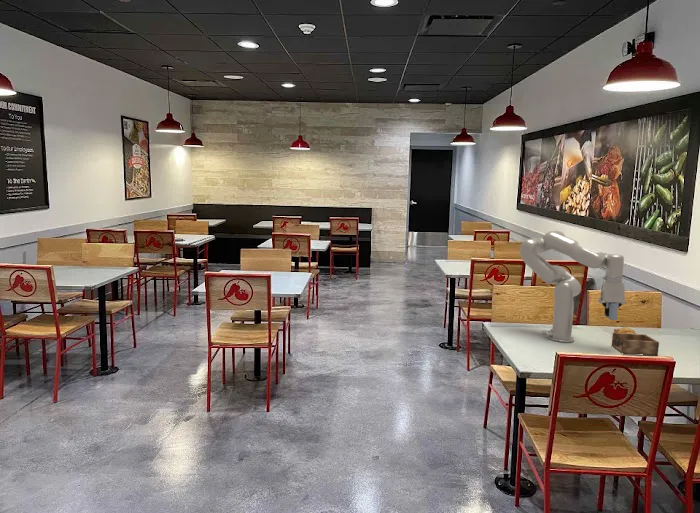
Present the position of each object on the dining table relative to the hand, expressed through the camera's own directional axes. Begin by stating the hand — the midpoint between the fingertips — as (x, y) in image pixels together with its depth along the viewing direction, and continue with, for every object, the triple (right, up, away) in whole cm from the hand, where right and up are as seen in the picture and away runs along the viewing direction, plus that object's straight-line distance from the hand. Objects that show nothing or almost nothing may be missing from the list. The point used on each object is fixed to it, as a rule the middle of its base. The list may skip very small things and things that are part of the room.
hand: (610, 315), depth 257 cm
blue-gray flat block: (0, -1, 0) cm, 1 cm away
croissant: (+20, -16, +23) cm, 34 cm away
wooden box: (+12, -18, +1) cm, 22 cm away
